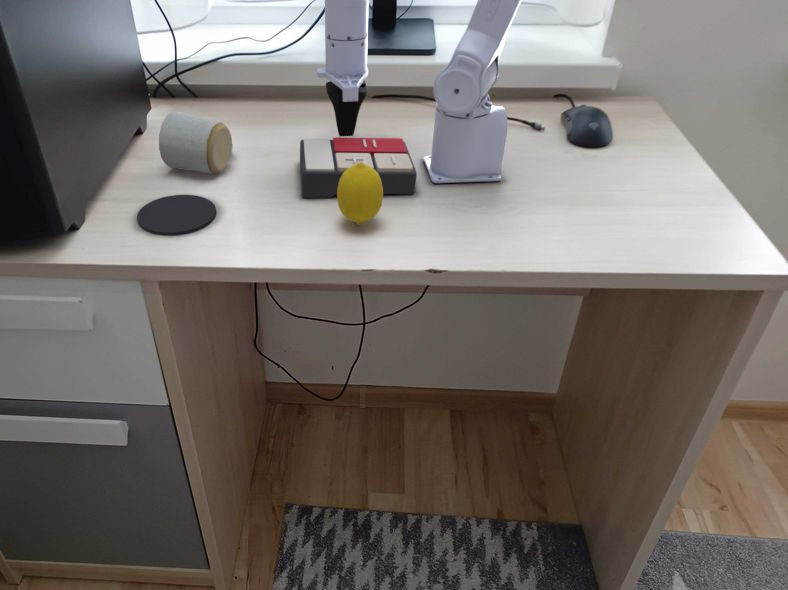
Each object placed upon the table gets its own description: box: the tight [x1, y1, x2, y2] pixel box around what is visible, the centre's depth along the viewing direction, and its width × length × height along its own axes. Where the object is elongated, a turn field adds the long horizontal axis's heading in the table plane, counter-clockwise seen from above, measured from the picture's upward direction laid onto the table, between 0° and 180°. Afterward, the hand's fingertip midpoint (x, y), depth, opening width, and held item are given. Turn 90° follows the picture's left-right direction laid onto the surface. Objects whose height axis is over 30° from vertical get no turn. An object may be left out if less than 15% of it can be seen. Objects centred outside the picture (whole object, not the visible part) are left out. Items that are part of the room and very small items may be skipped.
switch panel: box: [299, 136, 418, 199], centre depth 89 cm, size 11×4×15 cm
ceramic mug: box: [158, 110, 234, 174], centre depth 92 cm, size 11×8×8 cm
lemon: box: [336, 162, 384, 226], centre depth 78 cm, size 6×6×8 cm
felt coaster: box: [136, 194, 217, 236], centre depth 83 cm, size 10×10×1 cm
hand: (345, 134), depth 96 cm, fingers closed
